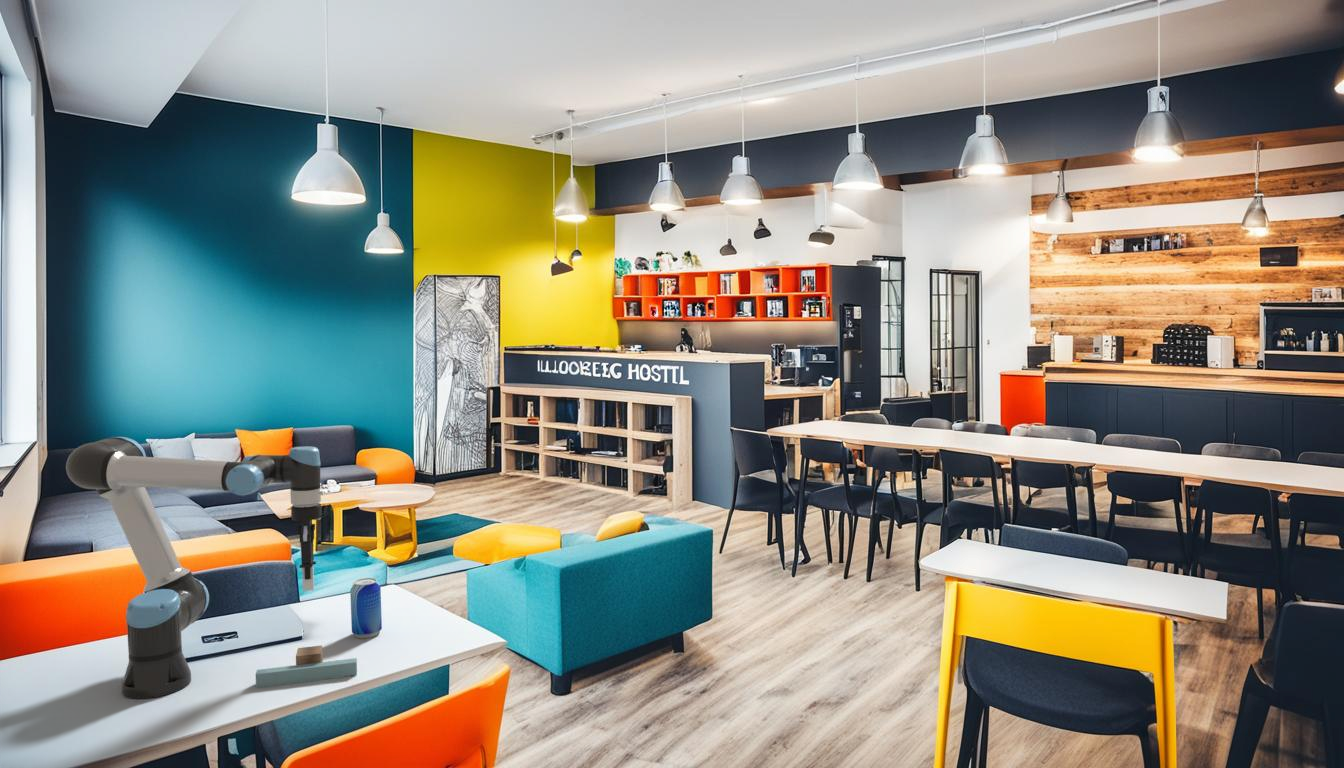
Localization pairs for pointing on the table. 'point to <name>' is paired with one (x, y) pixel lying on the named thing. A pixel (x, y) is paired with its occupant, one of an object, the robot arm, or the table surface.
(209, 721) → the table surface
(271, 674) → the board
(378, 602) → the beer can
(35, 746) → the table surface
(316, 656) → the block
